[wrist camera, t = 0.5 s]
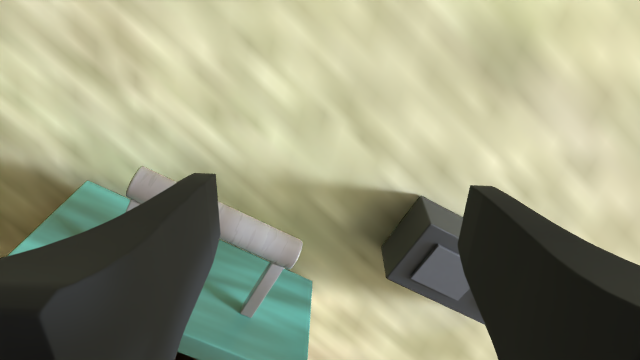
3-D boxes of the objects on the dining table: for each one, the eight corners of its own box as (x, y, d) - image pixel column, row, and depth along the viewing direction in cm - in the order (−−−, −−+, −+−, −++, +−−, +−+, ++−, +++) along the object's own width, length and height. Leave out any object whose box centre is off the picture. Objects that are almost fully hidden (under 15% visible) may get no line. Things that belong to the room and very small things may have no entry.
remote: (420, 194, 24) (431, 225, 21) (556, 265, 26) (581, 302, 23) (380, 246, 26) (386, 281, 23) (510, 309, 28) (529, 348, 25)
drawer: (114, 100, 21) (26, 161, 15) (356, 219, 24) (364, 312, 18) (35, 329, 28) (-46, 433, 22) (227, 400, 31) (202, 509, 25)
